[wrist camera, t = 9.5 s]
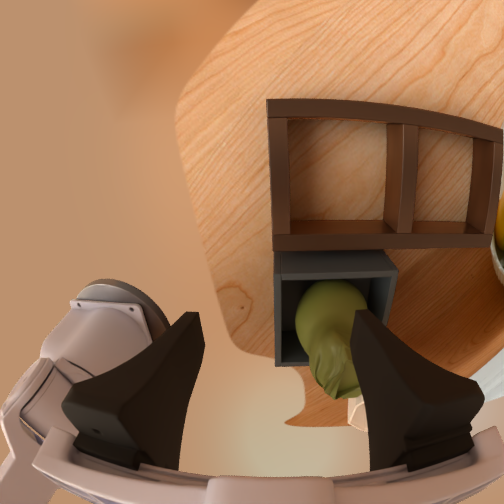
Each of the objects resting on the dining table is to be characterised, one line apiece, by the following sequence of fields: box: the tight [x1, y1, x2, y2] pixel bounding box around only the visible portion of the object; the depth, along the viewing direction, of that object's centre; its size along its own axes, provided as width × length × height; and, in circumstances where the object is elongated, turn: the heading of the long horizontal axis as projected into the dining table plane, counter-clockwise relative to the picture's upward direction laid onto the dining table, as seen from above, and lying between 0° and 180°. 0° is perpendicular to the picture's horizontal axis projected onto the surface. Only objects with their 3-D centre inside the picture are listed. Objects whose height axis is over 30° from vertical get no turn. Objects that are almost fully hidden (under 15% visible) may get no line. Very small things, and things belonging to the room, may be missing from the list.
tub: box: [273, 249, 399, 367], centre depth 22 cm, size 8×8×5 cm
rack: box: [266, 99, 503, 252], centre depth 18 cm, size 10×19×3 cm, turn 93°
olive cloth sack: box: [295, 279, 367, 400], centre depth 19 cm, size 6×5×10 cm
